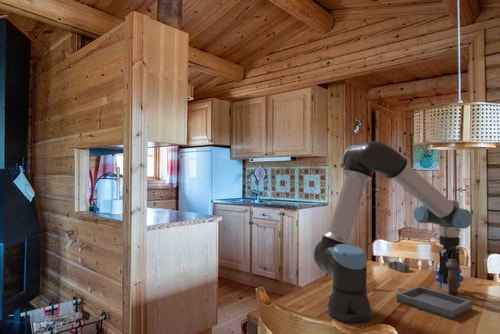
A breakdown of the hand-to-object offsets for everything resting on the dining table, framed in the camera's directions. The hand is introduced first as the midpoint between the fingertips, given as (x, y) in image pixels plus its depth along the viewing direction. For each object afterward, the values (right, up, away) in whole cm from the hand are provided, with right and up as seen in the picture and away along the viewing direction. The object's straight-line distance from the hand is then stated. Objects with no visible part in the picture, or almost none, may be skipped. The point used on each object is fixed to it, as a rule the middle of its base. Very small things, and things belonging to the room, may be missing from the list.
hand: (450, 289), depth 141 cm
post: (-4, 0, -9) cm, 10 cm away
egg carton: (-7, -2, +33) cm, 34 cm away
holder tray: (-16, 0, -17) cm, 23 cm away
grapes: (0, -1, 0) cm, 1 cm away
